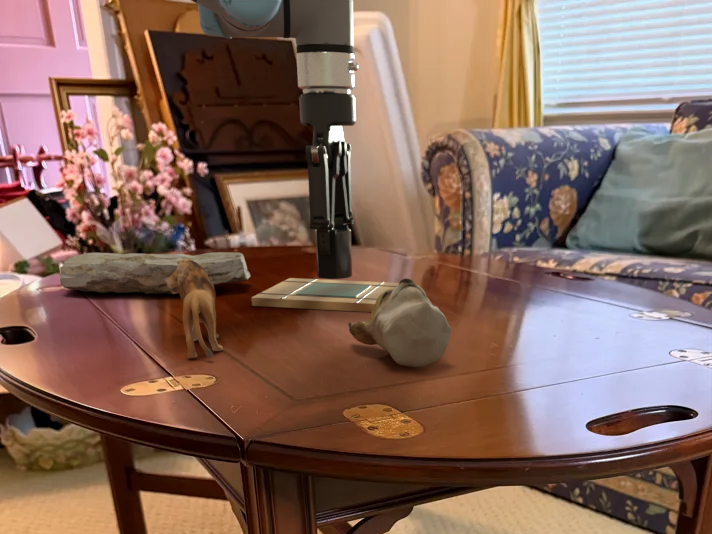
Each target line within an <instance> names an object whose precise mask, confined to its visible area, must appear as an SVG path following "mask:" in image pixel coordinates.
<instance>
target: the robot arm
mask: <svg viewBox="0 0 712 534" xmlns="http://www.w3.org/2000/svg"><path fill="white" fill-rule="evenodd" d="M190 1H192V2H193V3H196V5H197V9H198V10H197V11H198V17H199V18H198V19H199V27H200V30H201V31H202V32H203V34H204V35H206V36H209V37H221V38H225V39H227V40H230V39H233V38H252V39H253V38H257V39H258V38H260V39H261V38H263V39H265V38H269V39H270V38H272V39H273V38H283V39H295V44H296V49H295V50H296V68H297V69H296V71H297V73H296V74H297V87H298V88H299V89H300V90H302V94H300V96H298V101H299V103H298V104H299V119H300V124H301V125H302V126H305V127H311V126H312V127H313V134H312V142H311V145H306V146H305V150H304V151H305V155H306V163H307V176H308V179H307V181H308V198H309V201H308V202H309V229H310V230H312V231H313V230H314V231H315V230H317V249H318V269H319V277H318V279H324V278H332V279H331V280H338V279H337V278H338V255H337V230H333V229H334V228H348V229H349V225H354V222H355V217H353V199H352V198H353V196H352V172H351V171H352V169H351V156H352V145H351V143H347V141H345V135H344V127H353V126H354V125H356V123H357V108H356V107H357V106H356V104H357V103H356V97H355V94H351V90H354V89H355V88H356V83H355V82H356V81H355V80H356V79H355V72H356V71H358V70H359V65H358V62H355V48H354V47H355V39H354V37H355V36H354V35H355V33H354V32H355V31H354V0H190Z"/></svg>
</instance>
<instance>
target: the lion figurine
mask: <svg viewBox="0 0 712 534" xmlns="http://www.w3.org/2000/svg"><path fill="white" fill-rule="evenodd" d="M177 264H178V265H177V269H176V270H175V271H174V272H173V274H172V275H171V276H170V277H168V278H167V279H166V280H165V282H166V283H167V286H168V287H169V288H170V289H171V290H172V293H173V294H172V295H177V294H179V296H180V299H181V302H182V305H183V308H182V323H183V329H184V334H185V344H186V347H187V353H186V358H187V359H195V358H197V357H198V353H197V352H196V348H195V342H197V341H198V343H199V345H200V347H201V348H202V350H203V352H204V353H205V356H206V357H208V358H210V359H212V358H214V354H213V351H214V352H222V351H223V350H224V347H223V345H221V344H219V343H218V340H217V339H219V338H220V335H219V334H217V311H216V298H217V293H216V289H215V284H214V285H213V283H212V282H211V281H210V279H209V277H208V275H207V273H206V272H205V271H204V270H203V267H202V266H200V265H199V264H198V263H196V262H194V261H193V260H190V259H184V260H179V261H178V262H177ZM200 323H203V325H204V326H205V330H206V331H207V336H208V341H209V344H210V346H211V349H212V351H211V349H210V348H209V347H208V346H207V345H206V343H205V341H204V338H203V335H202V331H201V326H200Z"/></svg>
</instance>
